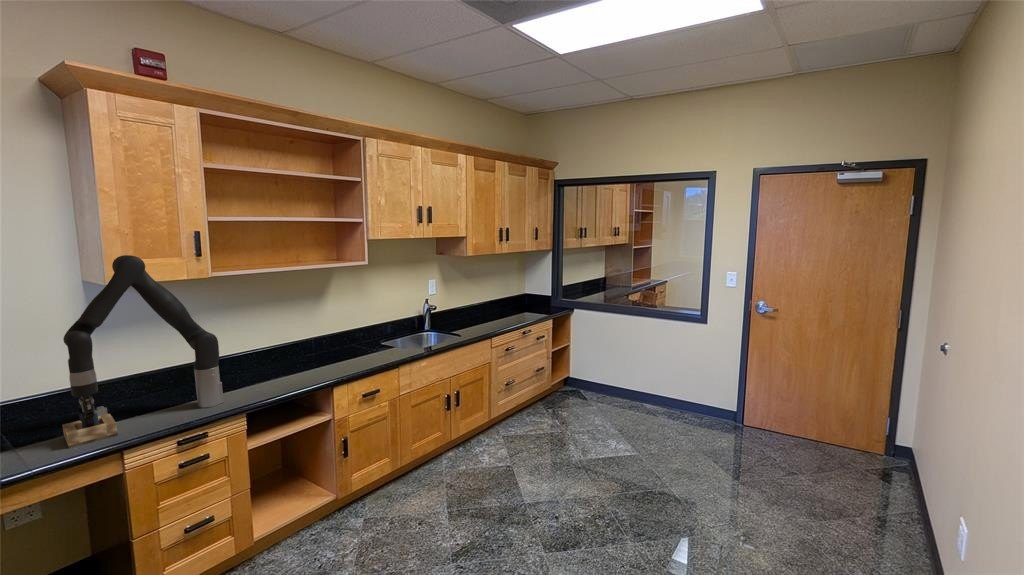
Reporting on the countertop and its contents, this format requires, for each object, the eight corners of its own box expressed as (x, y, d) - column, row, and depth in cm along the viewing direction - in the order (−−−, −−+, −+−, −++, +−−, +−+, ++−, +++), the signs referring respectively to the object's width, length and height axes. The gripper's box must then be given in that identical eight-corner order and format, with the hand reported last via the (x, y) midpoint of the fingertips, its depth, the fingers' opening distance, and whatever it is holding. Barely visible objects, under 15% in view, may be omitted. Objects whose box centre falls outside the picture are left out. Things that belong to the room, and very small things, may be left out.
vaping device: (81, 433, 182) (77, 403, 181) (99, 429, 186) (95, 399, 185) (82, 435, 180) (77, 404, 179) (100, 430, 184) (96, 400, 183)
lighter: (106, 416, 202) (103, 398, 201) (108, 417, 201) (105, 399, 200) (85, 423, 196) (82, 404, 194) (87, 423, 195) (84, 405, 194)
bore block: (111, 425, 193) (109, 413, 192) (117, 435, 184) (116, 423, 183) (64, 437, 183) (62, 424, 182) (68, 448, 174) (66, 435, 173)
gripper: (99, 383, 179) (105, 427, 181) (93, 375, 188) (99, 417, 190) (72, 388, 173) (79, 433, 175) (68, 380, 182) (74, 423, 185)
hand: (89, 424), depth 183 cm, fingers closed on vaping device, 2 cm apart
